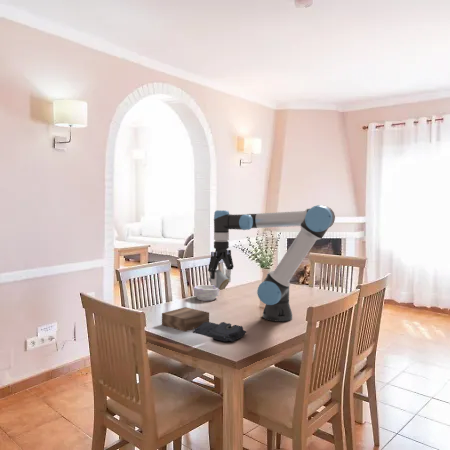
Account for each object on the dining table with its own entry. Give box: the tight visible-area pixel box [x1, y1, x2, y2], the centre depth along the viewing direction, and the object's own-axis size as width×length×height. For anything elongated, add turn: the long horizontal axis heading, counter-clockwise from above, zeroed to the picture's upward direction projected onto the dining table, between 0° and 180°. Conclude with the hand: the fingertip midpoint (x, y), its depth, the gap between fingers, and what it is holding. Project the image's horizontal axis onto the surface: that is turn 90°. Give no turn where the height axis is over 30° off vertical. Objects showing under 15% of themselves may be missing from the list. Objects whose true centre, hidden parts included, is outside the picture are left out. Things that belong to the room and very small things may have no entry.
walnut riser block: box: [161, 306, 210, 332], centre depth 202 cm, size 16×16×6 cm
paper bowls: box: [193, 284, 220, 302], centre depth 255 cm, size 15×15×8 cm
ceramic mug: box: [208, 269, 230, 291], centre depth 213 cm, size 11×8×8 cm
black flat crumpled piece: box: [192, 321, 247, 342], centre depth 190 cm, size 15×22×5 cm
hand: (221, 283), depth 214 cm, fingers closed on ceramic mug, 11 cm apart
